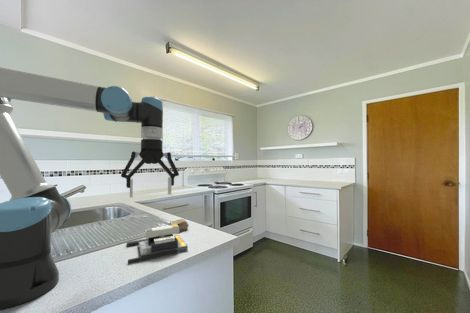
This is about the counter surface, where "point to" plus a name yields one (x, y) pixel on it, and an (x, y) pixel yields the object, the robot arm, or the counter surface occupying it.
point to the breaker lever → (161, 231)
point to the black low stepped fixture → (132, 243)
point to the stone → (180, 224)
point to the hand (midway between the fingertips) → (151, 195)
